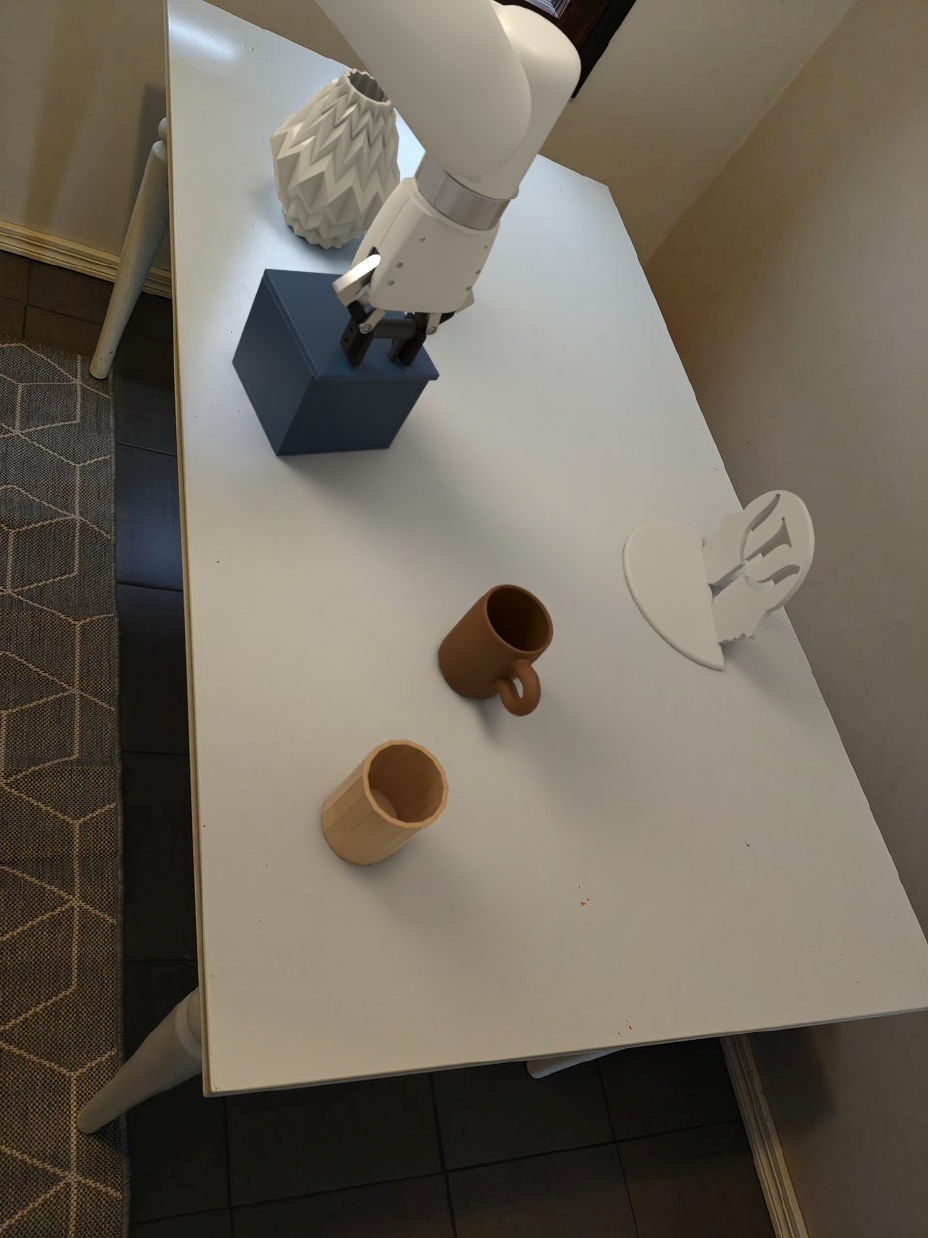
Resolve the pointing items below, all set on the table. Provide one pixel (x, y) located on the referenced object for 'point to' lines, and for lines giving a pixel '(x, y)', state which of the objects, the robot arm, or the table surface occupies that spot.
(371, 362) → the cooler lid
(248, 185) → the table surface
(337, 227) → the vase
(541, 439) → the table surface
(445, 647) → the mug
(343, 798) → the wooden cup
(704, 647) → the ornament
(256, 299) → the cooler
